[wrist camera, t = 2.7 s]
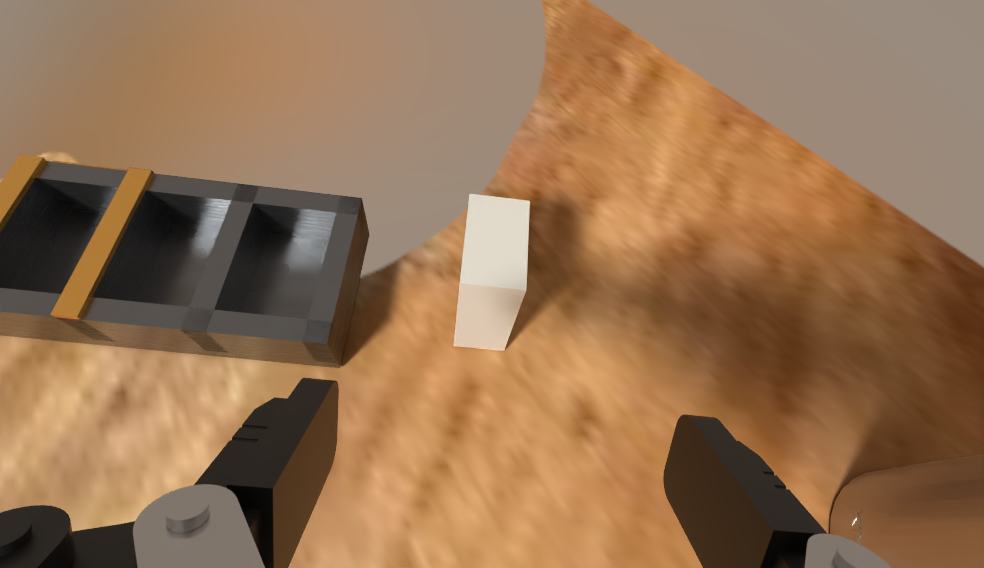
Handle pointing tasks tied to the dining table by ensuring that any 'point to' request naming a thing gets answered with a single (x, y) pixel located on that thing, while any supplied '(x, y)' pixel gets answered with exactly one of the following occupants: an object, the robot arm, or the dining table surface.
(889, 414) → the dining table surface
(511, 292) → the white rectangular block
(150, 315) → the slot rack
